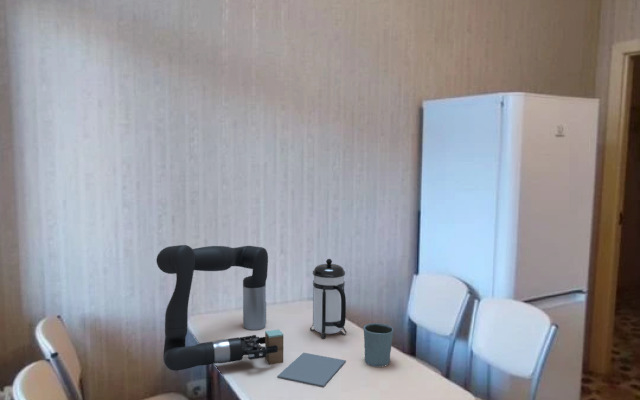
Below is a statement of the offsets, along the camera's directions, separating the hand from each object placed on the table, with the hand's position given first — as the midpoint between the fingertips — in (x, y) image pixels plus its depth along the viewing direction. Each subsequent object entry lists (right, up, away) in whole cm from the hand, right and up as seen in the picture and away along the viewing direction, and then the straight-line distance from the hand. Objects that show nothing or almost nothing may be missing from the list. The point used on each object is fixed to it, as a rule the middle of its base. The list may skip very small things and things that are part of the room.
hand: (273, 343), depth 171 cm
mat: (+14, -7, -6) cm, 16 cm away
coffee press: (+20, -4, +26) cm, 33 cm away
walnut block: (0, -6, +1) cm, 6 cm away
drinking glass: (+36, -7, +1) cm, 37 cm away
